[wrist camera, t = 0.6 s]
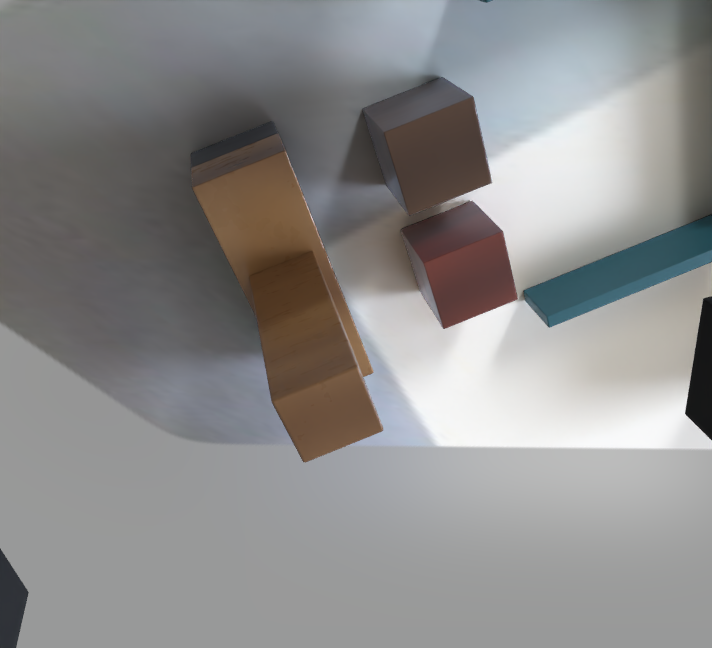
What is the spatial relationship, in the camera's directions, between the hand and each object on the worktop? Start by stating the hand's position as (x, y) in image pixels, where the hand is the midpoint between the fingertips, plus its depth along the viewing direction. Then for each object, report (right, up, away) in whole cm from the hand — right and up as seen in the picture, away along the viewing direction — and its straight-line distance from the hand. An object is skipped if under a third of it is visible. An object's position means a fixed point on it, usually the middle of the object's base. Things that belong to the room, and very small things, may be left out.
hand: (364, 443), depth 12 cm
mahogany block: (+5, +6, +24) cm, 25 cm away
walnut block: (+3, +11, +20) cm, 23 cm away
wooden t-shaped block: (-4, +6, +22) cm, 23 cm away
